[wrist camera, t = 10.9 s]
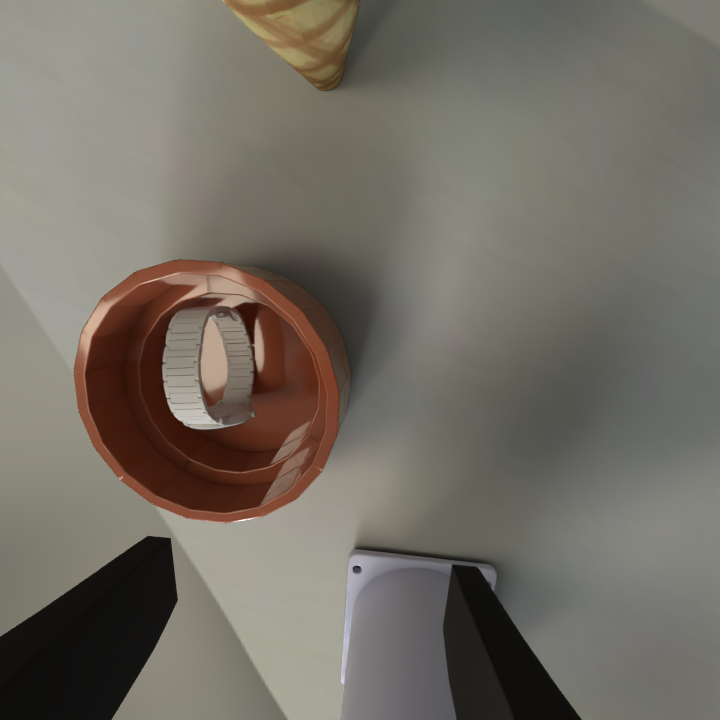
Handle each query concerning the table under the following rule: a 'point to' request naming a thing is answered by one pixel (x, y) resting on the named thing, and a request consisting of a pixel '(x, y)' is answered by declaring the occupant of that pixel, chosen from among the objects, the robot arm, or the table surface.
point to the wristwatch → (186, 369)
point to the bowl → (213, 391)
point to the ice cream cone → (304, 33)
